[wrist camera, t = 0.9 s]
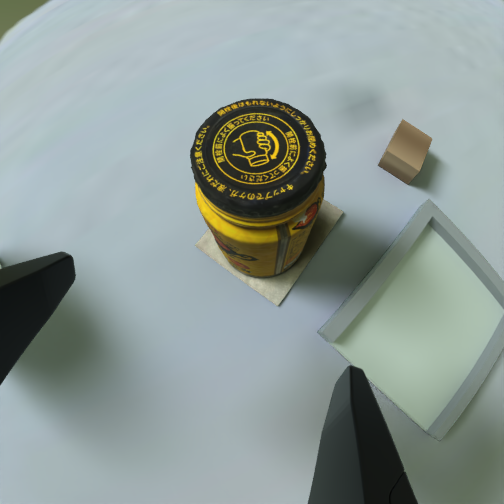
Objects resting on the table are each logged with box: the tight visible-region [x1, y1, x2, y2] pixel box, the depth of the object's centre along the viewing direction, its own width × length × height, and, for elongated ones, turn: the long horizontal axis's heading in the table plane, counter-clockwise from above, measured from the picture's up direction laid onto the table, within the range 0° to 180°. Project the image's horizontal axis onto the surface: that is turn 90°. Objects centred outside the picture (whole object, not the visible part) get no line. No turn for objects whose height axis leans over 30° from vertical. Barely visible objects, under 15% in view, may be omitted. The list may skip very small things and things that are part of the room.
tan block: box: [378, 119, 432, 184], centre depth 23 cm, size 4×3×2 cm
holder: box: [317, 199, 504, 441], centre depth 20 cm, size 13×13×2 cm
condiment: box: [190, 99, 343, 306], centre depth 17 cm, size 7×8×12 cm
